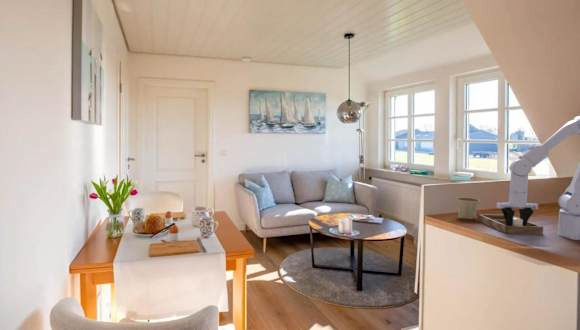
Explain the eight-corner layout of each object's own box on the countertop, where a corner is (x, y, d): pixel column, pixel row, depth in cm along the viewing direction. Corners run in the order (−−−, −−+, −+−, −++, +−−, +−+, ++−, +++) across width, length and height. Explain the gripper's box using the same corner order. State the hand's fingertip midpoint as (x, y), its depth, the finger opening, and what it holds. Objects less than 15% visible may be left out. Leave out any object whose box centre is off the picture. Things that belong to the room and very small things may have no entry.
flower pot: (482, 219, 165) (483, 199, 164) (473, 222, 159) (474, 202, 158) (460, 215, 172) (461, 196, 171) (451, 218, 165) (452, 198, 165)
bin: (542, 236, 138) (543, 227, 138) (505, 235, 138) (506, 226, 138) (509, 223, 159) (510, 215, 158) (477, 222, 158) (477, 214, 158)
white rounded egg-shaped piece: (524, 231, 141) (525, 220, 141) (513, 231, 141) (514, 219, 141) (517, 228, 146) (518, 217, 145) (506, 228, 146) (507, 217, 145)
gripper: (530, 190, 146) (528, 225, 147) (493, 189, 146) (490, 224, 147) (543, 193, 139) (540, 230, 140) (503, 192, 139) (501, 229, 140)
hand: (515, 227), depth 143 cm, fingers closed on white rounded egg-shaped piece, 4 cm apart
